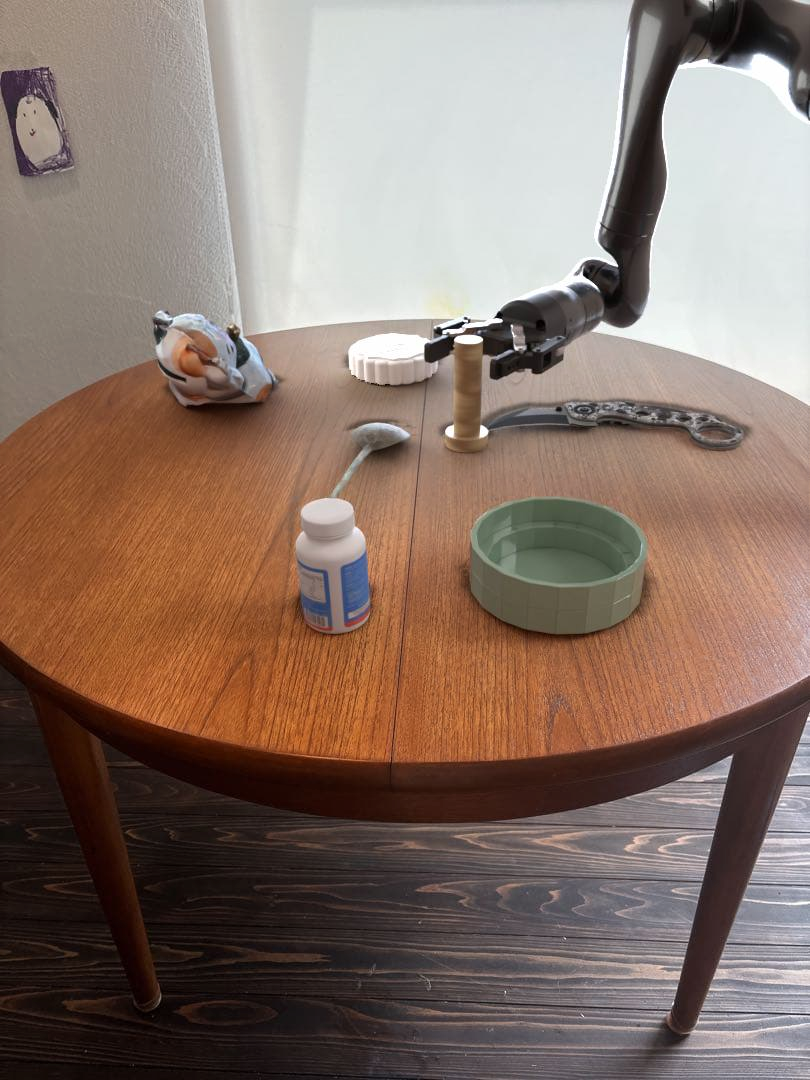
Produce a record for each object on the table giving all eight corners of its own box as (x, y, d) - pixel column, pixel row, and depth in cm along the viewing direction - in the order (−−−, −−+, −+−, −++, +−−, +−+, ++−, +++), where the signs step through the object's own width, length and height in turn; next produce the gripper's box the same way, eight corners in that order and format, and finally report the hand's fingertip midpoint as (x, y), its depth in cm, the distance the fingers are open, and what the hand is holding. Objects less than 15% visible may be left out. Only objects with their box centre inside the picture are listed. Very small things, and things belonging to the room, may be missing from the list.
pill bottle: (366, 593, 72) (360, 489, 67) (375, 631, 68) (369, 524, 63) (300, 600, 72) (289, 496, 67) (305, 640, 67) (294, 531, 62)
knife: (483, 426, 98) (495, 389, 106) (483, 438, 99) (495, 401, 107) (747, 448, 92) (739, 407, 100) (744, 461, 93) (736, 419, 101)
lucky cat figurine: (296, 396, 110) (265, 317, 98) (220, 452, 107) (178, 377, 95) (232, 337, 117) (195, 256, 105) (159, 388, 114) (113, 311, 102)
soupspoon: (418, 441, 99) (364, 437, 101) (417, 413, 98) (362, 410, 100) (351, 528, 81) (287, 522, 83) (348, 496, 80) (282, 490, 81)
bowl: (618, 543, 78) (624, 494, 76) (659, 638, 66) (668, 584, 64) (463, 547, 78) (464, 498, 76) (477, 643, 66) (479, 589, 64)
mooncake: (441, 384, 113) (441, 358, 111) (348, 387, 112) (347, 361, 110) (435, 354, 123) (435, 329, 121) (350, 356, 123) (349, 331, 121)
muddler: (485, 434, 99) (489, 331, 93) (490, 452, 95) (493, 346, 89) (444, 435, 99) (444, 332, 93) (446, 453, 95) (447, 347, 89)
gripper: (491, 282, 103) (405, 315, 93) (597, 301, 96) (518, 340, 85) (489, 343, 107) (406, 381, 97) (591, 366, 100) (514, 411, 89)
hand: (458, 362), depth 91 cm, fingers open, 8 cm apart
